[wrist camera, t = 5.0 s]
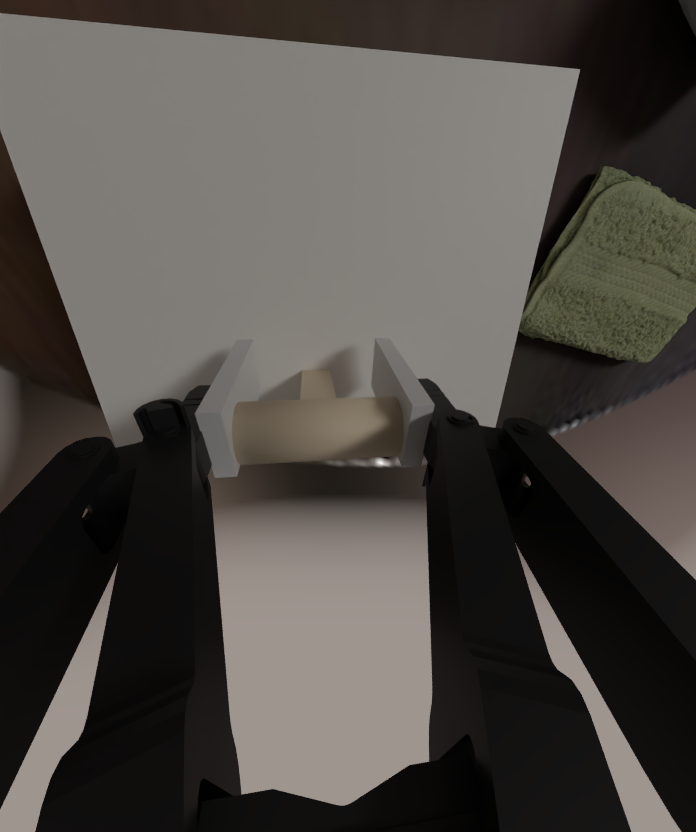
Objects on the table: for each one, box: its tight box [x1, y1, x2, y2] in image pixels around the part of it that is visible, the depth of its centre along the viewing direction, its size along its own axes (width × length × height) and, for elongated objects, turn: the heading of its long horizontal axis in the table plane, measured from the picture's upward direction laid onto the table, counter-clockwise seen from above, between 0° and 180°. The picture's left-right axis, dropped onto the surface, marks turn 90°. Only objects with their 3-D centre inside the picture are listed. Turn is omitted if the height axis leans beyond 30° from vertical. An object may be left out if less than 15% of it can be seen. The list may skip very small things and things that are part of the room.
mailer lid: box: [0, 13, 580, 465], centre depth 12 cm, size 18×24×9 cm
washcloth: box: [518, 166, 696, 363], centre depth 27 cm, size 13×18×3 cm
